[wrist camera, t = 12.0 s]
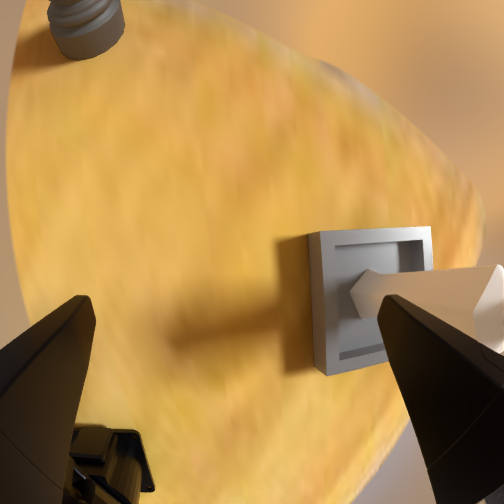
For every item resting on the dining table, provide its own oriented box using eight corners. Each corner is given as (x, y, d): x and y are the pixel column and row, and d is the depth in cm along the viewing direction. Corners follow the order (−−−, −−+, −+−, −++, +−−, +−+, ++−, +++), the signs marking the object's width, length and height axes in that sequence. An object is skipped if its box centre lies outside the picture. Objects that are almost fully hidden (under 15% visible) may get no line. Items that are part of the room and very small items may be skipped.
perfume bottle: (349, 260, 23) (529, 258, 8) (395, 267, 24) (564, 271, 9) (340, 322, 23) (509, 383, 8) (387, 324, 23) (548, 370, 9)
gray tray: (415, 342, 25) (432, 347, 22) (313, 366, 23) (326, 376, 21) (412, 228, 25) (430, 226, 23) (307, 234, 23) (319, 231, 21)
